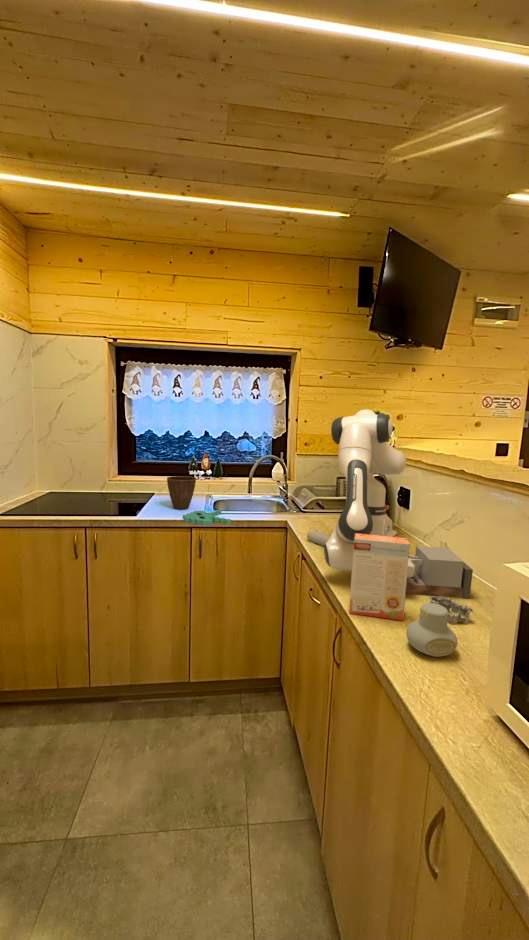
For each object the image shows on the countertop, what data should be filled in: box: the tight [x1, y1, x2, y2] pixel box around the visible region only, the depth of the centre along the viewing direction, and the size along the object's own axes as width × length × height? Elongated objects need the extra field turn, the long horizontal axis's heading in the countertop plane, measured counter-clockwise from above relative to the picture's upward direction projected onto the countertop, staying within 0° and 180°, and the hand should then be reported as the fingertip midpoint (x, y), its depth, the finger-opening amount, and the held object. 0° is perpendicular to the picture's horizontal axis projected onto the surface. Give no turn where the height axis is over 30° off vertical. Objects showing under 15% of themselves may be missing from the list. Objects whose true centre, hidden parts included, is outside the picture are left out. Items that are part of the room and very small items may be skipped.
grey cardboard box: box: [414, 545, 465, 588], centre depth 133 cm, size 10×13×8 cm
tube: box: [306, 529, 331, 548], centre depth 169 cm, size 5×5×25 cm
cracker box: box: [348, 533, 411, 621], centre depth 113 cm, size 14×6×21 cm, turn 77°
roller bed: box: [405, 562, 474, 600], centre depth 133 cm, size 22×13×9 cm, turn 87°
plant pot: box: [166, 475, 197, 511], centre depth 222 cm, size 15×15×16 cm
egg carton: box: [428, 595, 474, 625], centre depth 116 cm, size 11×8×4 cm
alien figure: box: [182, 509, 232, 526], centre depth 204 cm, size 20×2×20 cm
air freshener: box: [405, 602, 458, 658], centre depth 97 cm, size 11×8×10 cm
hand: (421, 561), depth 133 cm, fingers closed, pressing on grey cardboard box
